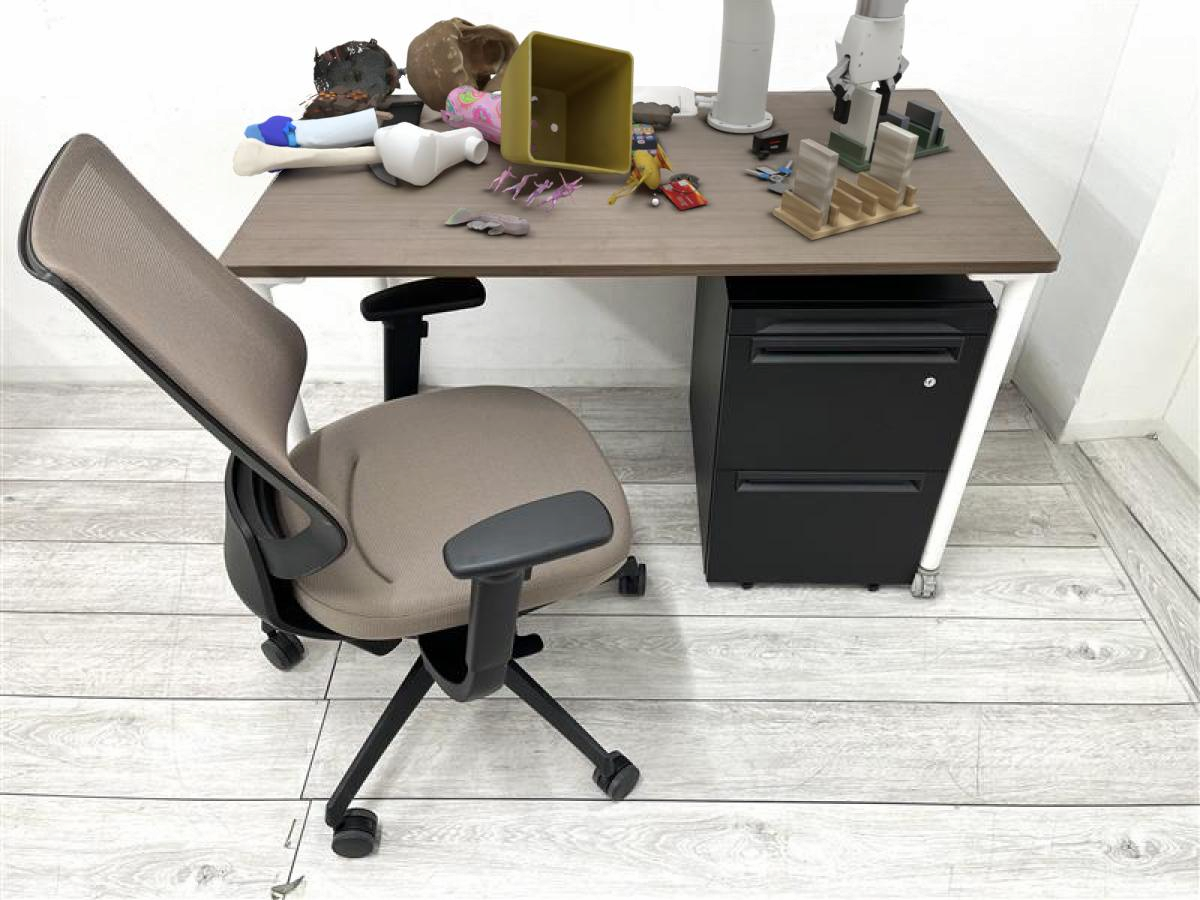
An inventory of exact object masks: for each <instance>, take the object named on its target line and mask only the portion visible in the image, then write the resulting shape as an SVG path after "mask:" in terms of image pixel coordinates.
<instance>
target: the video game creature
mask: <svg viewBox="0 0 1200 900" xmlns="http://www.w3.org/2000/svg"><path fill="white" fill-rule="evenodd" d="M323 92H325V91H322V92H320V93H316V94H313V95H312V93H310V94H308V95H306V96H305V98H307V97H309V98H308V99H307V100H305V101H303V102H301V103H299V104H298V106H302V105H304V104H305V103H306V105H305V106H304V108H305V111H304V112H303V113H302V114H301V115H302V117H299V119H298V120H313V119H315V120H316V119H323V118H332V117H338V116H343V115H348V114H352V113H356V112H360V111H364V110H368V109H371V108H374V110H375V114H376V119H377V120H383V121H384V120H389V119H392V118H393V115H391V113H388V111H381V110H378V108H377V107H370V104H368V100H369V99H370V93H366V91H365V92H362V91H360V90H354V91H353V92H352V89H350V88H346V87H342V86H338V85H337V86H336V87H334V88H332V89H331V90H329V91H328V93H323ZM311 95H312V96H311ZM314 97H316V98H314ZM313 98H314V99H313ZM310 100H312V102H307V101H310Z"/></svg>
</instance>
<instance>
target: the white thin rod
mask: <svg viewBox="0 0 1200 900" xmlns="http://www.w3.org/2000/svg"><path fill="white" fill-rule="evenodd" d="M657 192H658V193H661V192H662V189H661V188H660V187H658V188H657ZM653 194H654V196H656V193H653ZM659 203H660V202H659V199H658V198H653V199H652V201H651V204H652V205H653V206H655V207H656V206H659Z"/></svg>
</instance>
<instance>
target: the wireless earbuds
mask: <svg viewBox="0 0 1200 900" xmlns="http://www.w3.org/2000/svg"><path fill="white" fill-rule="evenodd" d="M752 134H753V135H752V136H753V137H752V145H751V151H752V152H753V153H754V154H756V155H757V156H758V158H759V159H761V160H763V159H765V158H768V157H770V156H771V154H775V153H780V152H784V151H787V149H788V144H789V136H790V132H789V131H787V130H786V129H783V128H777V129H771V130H766V131H765V130H764V131H759V132H754V133H752Z"/></svg>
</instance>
